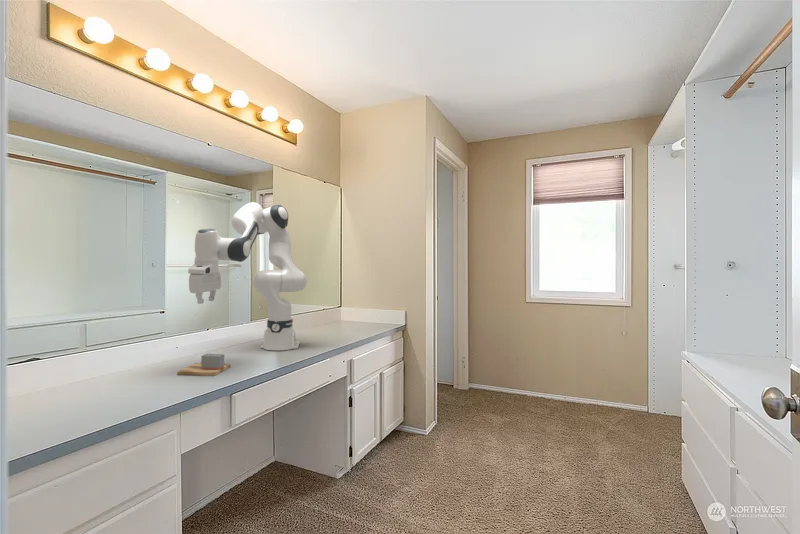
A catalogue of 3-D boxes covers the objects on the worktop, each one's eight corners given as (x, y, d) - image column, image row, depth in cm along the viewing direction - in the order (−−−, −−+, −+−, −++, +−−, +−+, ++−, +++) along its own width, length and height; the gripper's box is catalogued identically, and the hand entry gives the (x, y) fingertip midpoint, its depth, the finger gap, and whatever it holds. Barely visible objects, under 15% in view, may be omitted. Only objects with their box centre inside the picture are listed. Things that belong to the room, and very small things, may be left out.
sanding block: (206, 366, 159) (206, 353, 159) (224, 366, 159) (224, 354, 159) (201, 369, 155) (201, 355, 155) (219, 369, 155) (219, 356, 155)
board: (195, 366, 164) (195, 363, 164) (230, 367, 163) (230, 364, 163) (177, 374, 151) (177, 371, 151) (214, 375, 150) (214, 372, 150)
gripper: (210, 267, 176) (210, 298, 177) (185, 269, 156) (185, 305, 156) (225, 267, 176) (224, 299, 176) (202, 269, 155) (201, 305, 156)
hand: (206, 302), depth 166 cm, fingers open, 8 cm apart
